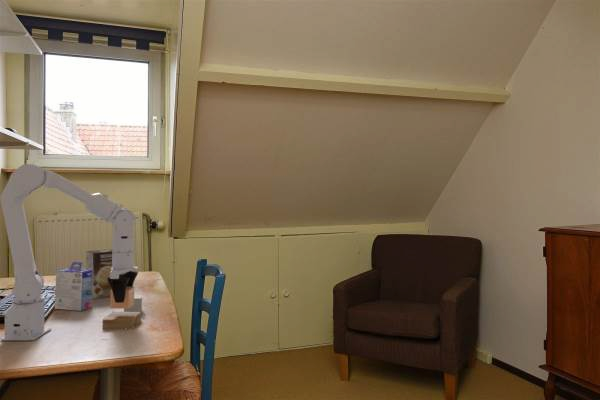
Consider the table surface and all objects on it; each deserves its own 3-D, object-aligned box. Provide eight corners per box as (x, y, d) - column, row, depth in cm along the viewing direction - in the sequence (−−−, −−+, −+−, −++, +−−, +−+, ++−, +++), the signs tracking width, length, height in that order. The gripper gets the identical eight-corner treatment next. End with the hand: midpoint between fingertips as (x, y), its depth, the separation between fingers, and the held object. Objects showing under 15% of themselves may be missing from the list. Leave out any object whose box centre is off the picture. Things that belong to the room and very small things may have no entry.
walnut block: (132, 330, 126) (132, 319, 126) (102, 330, 126) (102, 319, 126) (141, 322, 134) (141, 311, 134) (112, 322, 134) (113, 311, 134)
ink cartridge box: (93, 307, 149) (93, 262, 148) (81, 311, 143) (82, 265, 143) (66, 305, 150) (66, 260, 150) (54, 309, 145) (54, 263, 145)
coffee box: (93, 299, 159) (93, 252, 159) (84, 296, 163) (85, 251, 163) (118, 294, 166) (118, 250, 166) (109, 292, 170) (109, 248, 170)
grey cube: (141, 314, 141) (141, 298, 141) (123, 315, 140) (124, 299, 140) (141, 310, 146) (141, 294, 146) (124, 311, 144) (125, 295, 144)
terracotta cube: (128, 308, 127) (128, 290, 127) (110, 308, 127) (110, 290, 127) (134, 304, 132) (134, 286, 132) (116, 304, 132) (116, 286, 132)
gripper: (129, 255, 123) (129, 306, 123) (145, 248, 137) (144, 294, 137) (102, 255, 122) (102, 306, 122) (120, 248, 137) (120, 294, 137)
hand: (122, 299), depth 130 cm, fingers closed on terracotta cube, 5 cm apart
